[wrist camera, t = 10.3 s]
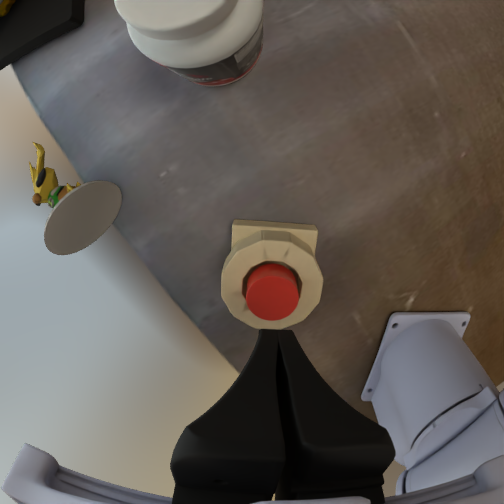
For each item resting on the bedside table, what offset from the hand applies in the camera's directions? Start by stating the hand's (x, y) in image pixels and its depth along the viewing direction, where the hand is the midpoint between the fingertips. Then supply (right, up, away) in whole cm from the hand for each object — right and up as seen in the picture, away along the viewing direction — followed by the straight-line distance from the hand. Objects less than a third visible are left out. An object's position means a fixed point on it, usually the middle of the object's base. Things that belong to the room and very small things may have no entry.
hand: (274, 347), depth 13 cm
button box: (0, +3, +8) cm, 8 cm away
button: (0, +2, +5) cm, 6 cm away
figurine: (-11, +6, +4) cm, 13 cm away
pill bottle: (-3, +16, +3) cm, 17 cm away
